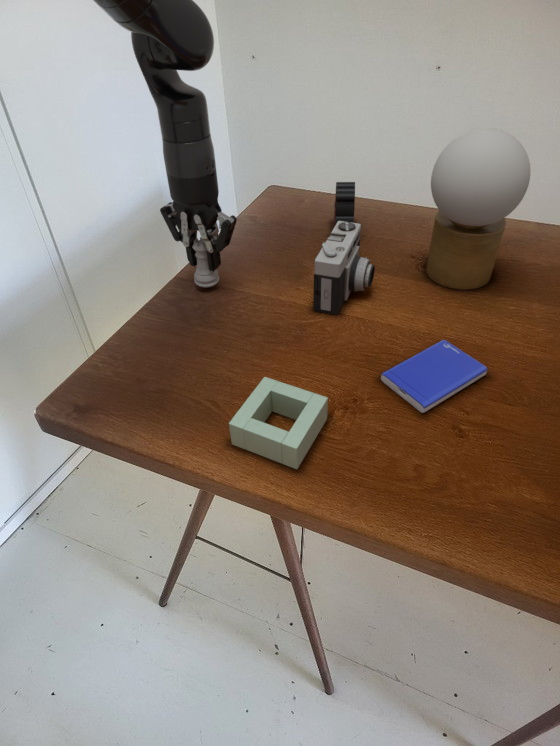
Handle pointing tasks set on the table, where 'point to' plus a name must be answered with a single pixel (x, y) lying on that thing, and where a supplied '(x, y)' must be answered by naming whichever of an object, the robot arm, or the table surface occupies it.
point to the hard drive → (433, 375)
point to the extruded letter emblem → (344, 202)
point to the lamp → (474, 204)
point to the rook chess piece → (203, 266)
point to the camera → (340, 268)
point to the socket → (273, 440)
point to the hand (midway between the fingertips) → (205, 266)
